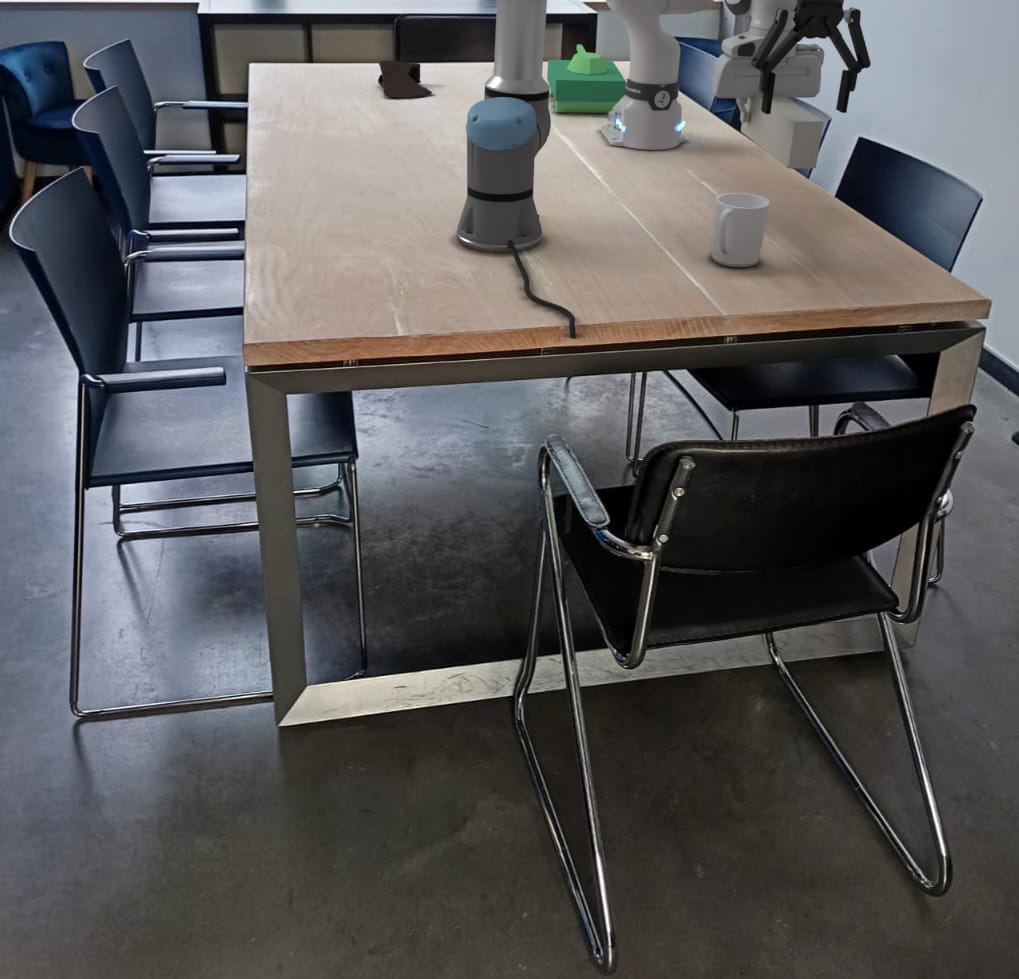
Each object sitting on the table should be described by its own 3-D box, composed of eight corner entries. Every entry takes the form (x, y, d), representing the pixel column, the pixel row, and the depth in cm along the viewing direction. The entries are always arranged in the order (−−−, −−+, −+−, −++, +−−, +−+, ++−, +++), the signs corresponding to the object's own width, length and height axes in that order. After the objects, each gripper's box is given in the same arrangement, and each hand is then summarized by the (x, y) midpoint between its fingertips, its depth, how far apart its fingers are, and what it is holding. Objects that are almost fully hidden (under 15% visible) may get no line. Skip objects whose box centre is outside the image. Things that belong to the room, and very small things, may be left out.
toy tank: (609, 41, 303) (627, 65, 273) (606, 87, 310) (623, 116, 280) (546, 39, 302) (556, 64, 272) (544, 86, 309) (554, 115, 279)
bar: (815, 168, 190) (823, 121, 186) (787, 168, 190) (795, 121, 185) (766, 131, 212) (772, 88, 208) (740, 131, 211) (746, 88, 207)
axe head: (443, 87, 294) (392, 77, 287) (436, 115, 299) (385, 106, 292) (421, 62, 307) (371, 52, 300) (414, 89, 311) (365, 80, 304)
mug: (725, 247, 195) (732, 189, 189) (770, 259, 190) (779, 200, 184) (692, 263, 187) (699, 203, 182) (739, 275, 183) (747, 215, 177)
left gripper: (886, -27, 182) (863, 105, 193) (742, -27, 179) (727, 107, 190) (906, -21, 175) (881, 115, 187) (757, -21, 172) (740, 118, 183)
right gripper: (819, 40, 204) (807, 117, 211) (713, 41, 201) (705, 118, 209) (832, 47, 199) (819, 125, 206) (724, 47, 196) (714, 126, 203)
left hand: (803, 112), depth 188 cm, fingers open, 13 cm apart
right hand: (761, 121), depth 207 cm, fingers closed on bar, 5 cm apart
